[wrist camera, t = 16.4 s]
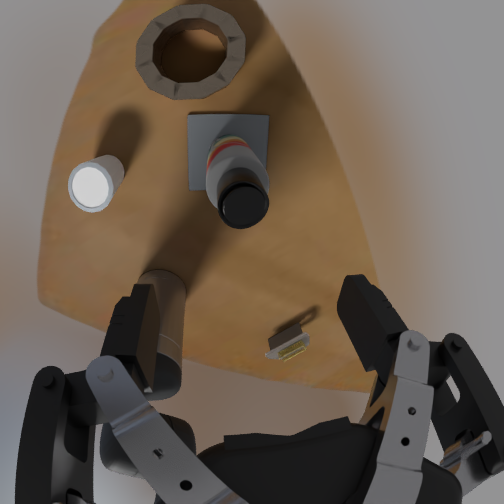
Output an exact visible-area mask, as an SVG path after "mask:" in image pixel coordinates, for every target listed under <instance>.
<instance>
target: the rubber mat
mask: <svg viewBox="0 0 504 504" xmlns="http://www.w3.org/2000/svg"><path fill="white" fill-rule="evenodd" d="M268 127H269V115H252V114H198V115H188V173H189V191H190V190H206V172H207V159H208V151H209V147H210V145H211V144H212V142H213V141H214V140H215V139H216V138H218V137H220V136H222V135H226V134H233V135H236V136H239V137H240V138H242V139H243V140H244V141H245V142H246V143H247V144H248V146H249V147H250V148H251V150H252V151H253V152H254V154H255V155H256V156H257V158H258V159H259V161H260V162H261V163H262V165H263V166H264V168H265V170H266V160H267V144H268Z"/></svg>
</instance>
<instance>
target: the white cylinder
mask: <svg viewBox="0 0 504 504" xmlns="http://www.w3.org/2000/svg"><path fill="white" fill-rule="evenodd" d="M123 179H124V168H123V165H122V163H121V162H120V160H119V159H118V158H116V157H115V156H112V155H103V156H100V157H97V158H95V159H92V160H89V161H87V162H84V163H82V164H79V165H78V166H77V167H76V168H75V169H74V170H73V171H72V173H71V175H70V177H69V182H68V190H69V193H70V197H71V199H72V200H73V202H74V203H75V204H76V206H78V207H79V208H81V209H82V210H84V211H87V212H92V213H93V212H97V211H101V210H102V209H104V208H105V207H106V206H108V204H109V203H110V201H111V199H112V197H113V196H114V194H115V192H116V191H117V189H118V188H119V186H120V184H121V183H122V181H123Z"/></svg>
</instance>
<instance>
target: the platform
mask: <svg viewBox="0 0 504 504" xmlns="http://www.w3.org/2000/svg"><path fill="white" fill-rule="evenodd" d="M268 342H269V347H270V351H269V352H267V353H266V357H267V358H269V359H284V360H285V361H286V360H288V359H290V358H292V357H293V356H292V355H291V354H293V355H294V356H295V355H297V354H295V352H296V353H298V354H299V353H301V352H297V351H302V352H303V351H305V350H301V349H306V346H308V345H309V335H308V333H306V332H304V333H302V330H301V327H300V324H299V322H298V323H296V324H295V325H293V326H291V327H289V328H288V329H286V330H284V331H282V332H281V333H279V334H277V335H275V336H273V337H271V338H270V339H268ZM298 342H300V343H298ZM294 344H298V346H297V345H294ZM292 346H294V347H292ZM287 349H288V350H287ZM306 350H307V349H306ZM284 351H286V352H284ZM287 356H291V357H290V358H289V357H287ZM285 357H286V358H288V359H285ZM283 362H284V361H283Z"/></svg>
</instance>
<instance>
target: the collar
mask: <svg viewBox="0 0 504 504" xmlns="http://www.w3.org/2000/svg"><path fill="white" fill-rule="evenodd" d="M153 20H154V21H153ZM153 20H152V21H151V22H150V23H149V25H148V26H147V28H146V29H145V30H144V32H143V33H142V35H141V36H140V38H139V39H138V41H137V42H138V43H137V45H136V66H135V67H137V68H136V69H137V71H138V72H139V74H140V76H141V77H142V79H143V80H144V82H145V83H146V85H147V87H148V88H150V89H151V90H153V91H155V92H157V93H160V94H162V95H164V96H166V97H168V98H170V99H172V100H184V99H204V98H206V97H208V96H210V95H212V94H214V93H216V92H217V91H219V90H221V89H223V88H225V87H226V86H228V85H229V83H230V82H231V80H232V79H233V77H234V76H235V75H236V73H237V72H238V70H239V69H240V68H241V66H242V65H243V63H244V61H245V43H246V37H245V34H244V33H243V31H242V30H241V28H240V26H239V25H238V23H237V22H236V20H235V19H234V17H233V16H232V15H231V14H229V13H227V12H224V11H222V10H220V9H218V8H216V7H214V6H211V5H209V4H208V5H207V4H191V5H179V7H178V6H176V7H174V8H172V9H170V10H168V11H166V12H165V13H163V14H161V15H159V16H157V17H156V18H154V19H153ZM200 29H203V30H206V31H208V32H210V33H212V34H214V35H216V36H218V38H219V39H220V41H221V42H222V44H223V46H224V47H225V61H224V62H223V64H222V65H221V66H220V68H219V69H218V71H217V72H216V73H215V74H213V75H211V76H209V77H207V78H205V79H203V80H201V81H200V82H193V83H177V82H175V81H172V80H170V79H169V78H168V76H167V75H166V73H165V71H164V70H163V68H162V67H161V65H162V51H163V50H164V48H165V47H166V45H167V44H168V42H169V41H170V39H171V38H173V37H174V36H176V35H178V34H180V33H182V32H184V31H186V30H200Z"/></svg>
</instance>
